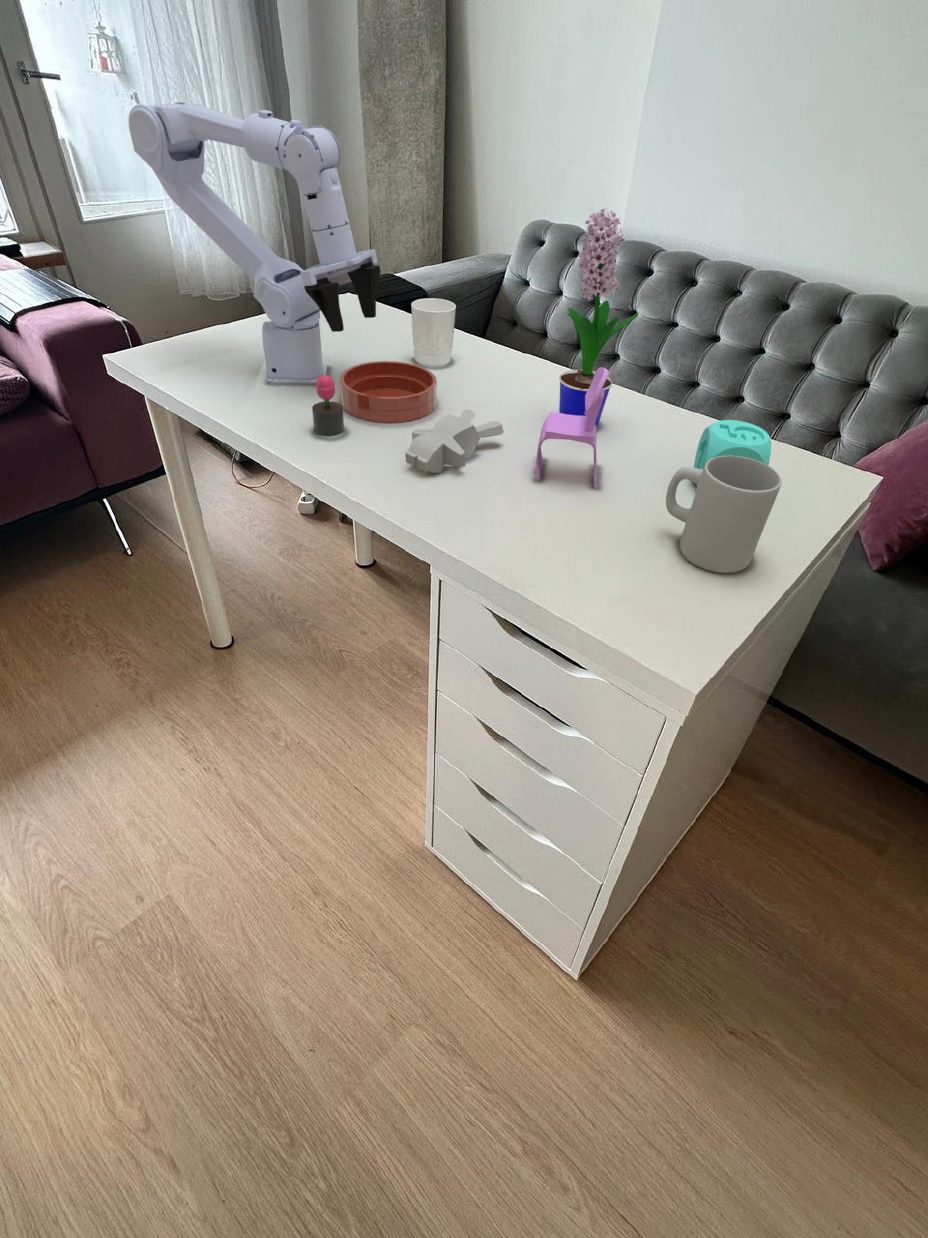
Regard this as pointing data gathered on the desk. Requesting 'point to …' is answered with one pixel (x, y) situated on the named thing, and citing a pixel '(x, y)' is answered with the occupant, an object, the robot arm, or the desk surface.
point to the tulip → (327, 409)
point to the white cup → (433, 330)
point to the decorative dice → (733, 442)
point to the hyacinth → (596, 332)
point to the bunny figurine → (448, 442)
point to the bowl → (388, 391)
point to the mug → (724, 511)
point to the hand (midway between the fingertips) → (354, 323)
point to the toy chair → (576, 422)
